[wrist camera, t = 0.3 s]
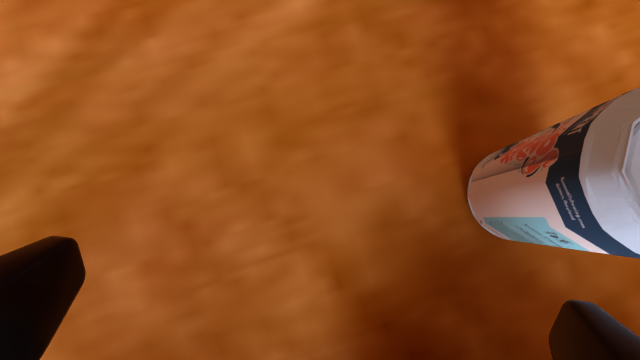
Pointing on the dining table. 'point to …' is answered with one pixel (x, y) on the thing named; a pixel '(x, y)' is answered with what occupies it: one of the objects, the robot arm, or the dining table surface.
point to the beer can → (568, 183)
